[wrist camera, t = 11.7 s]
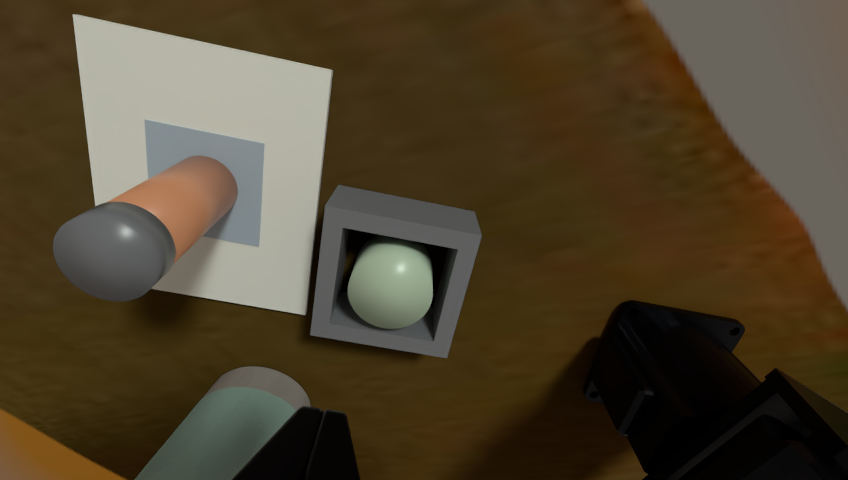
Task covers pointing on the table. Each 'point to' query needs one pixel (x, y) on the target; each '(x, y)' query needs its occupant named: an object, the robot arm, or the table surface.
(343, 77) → the table surface
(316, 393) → the table surface
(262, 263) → the paper
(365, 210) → the button housing
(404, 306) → the button
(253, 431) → the coffee cup
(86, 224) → the marker
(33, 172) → the table surface
